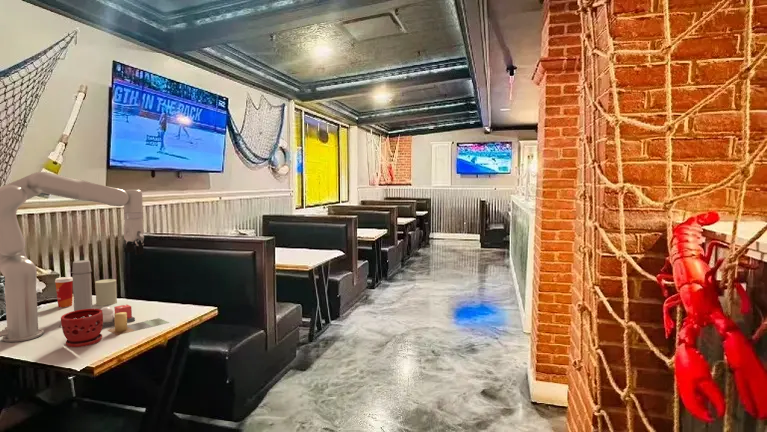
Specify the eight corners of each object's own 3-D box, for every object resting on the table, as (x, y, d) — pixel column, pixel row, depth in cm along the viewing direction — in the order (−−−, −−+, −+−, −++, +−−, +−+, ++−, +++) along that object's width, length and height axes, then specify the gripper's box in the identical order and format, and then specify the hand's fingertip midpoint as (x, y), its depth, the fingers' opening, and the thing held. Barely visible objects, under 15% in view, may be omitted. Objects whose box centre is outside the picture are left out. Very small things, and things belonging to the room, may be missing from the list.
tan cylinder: (117, 332, 178) (116, 315, 177) (113, 330, 181) (112, 313, 180) (129, 330, 181) (128, 313, 181) (124, 327, 184) (124, 311, 184)
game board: (116, 336, 175) (116, 335, 175) (107, 331, 181) (106, 329, 181) (169, 323, 192) (169, 322, 191) (159, 319, 198) (159, 318, 198)
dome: (101, 325, 184) (100, 309, 184) (96, 322, 188) (95, 307, 187) (115, 322, 189) (115, 306, 188) (110, 319, 192) (110, 304, 192)
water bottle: (92, 315, 203) (90, 262, 201) (71, 317, 199) (69, 263, 198) (95, 310, 211) (93, 259, 209) (75, 312, 208) (73, 260, 206)
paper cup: (59, 304, 221) (58, 277, 220) (77, 303, 224) (75, 276, 223) (52, 308, 214) (51, 280, 213) (71, 307, 216) (70, 279, 215)
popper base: (99, 330, 183) (98, 313, 182) (92, 326, 188) (91, 310, 187) (134, 322, 194) (134, 306, 193) (127, 318, 198) (127, 303, 198)
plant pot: (71, 339, 172) (70, 309, 171) (109, 336, 175) (108, 307, 174) (55, 351, 159) (53, 319, 159) (95, 348, 162) (94, 316, 162)
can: (121, 301, 227) (120, 278, 227) (105, 306, 218) (104, 282, 218) (107, 300, 230) (106, 277, 229) (91, 304, 221) (90, 281, 220)
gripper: (116, 215, 205) (118, 252, 206) (133, 217, 194) (134, 256, 195) (134, 215, 211) (135, 250, 212) (150, 216, 200) (151, 254, 201)
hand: (134, 253), depth 204 cm, fingers open, 9 cm apart
